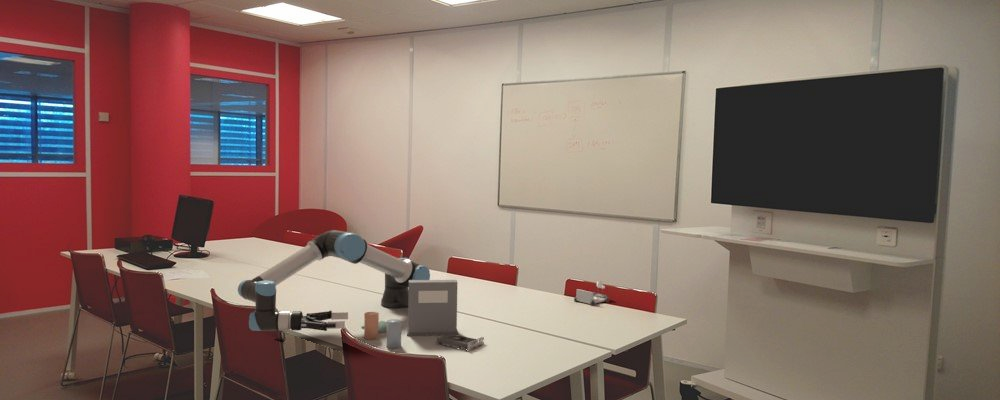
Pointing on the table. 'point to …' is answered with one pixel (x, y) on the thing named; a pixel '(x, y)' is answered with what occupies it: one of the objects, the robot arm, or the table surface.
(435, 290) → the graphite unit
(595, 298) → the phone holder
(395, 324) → the slate cartridge
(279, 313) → the robot arm
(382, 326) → the green mat
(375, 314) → the cylinder
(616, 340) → the table surface
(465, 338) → the graphics card
